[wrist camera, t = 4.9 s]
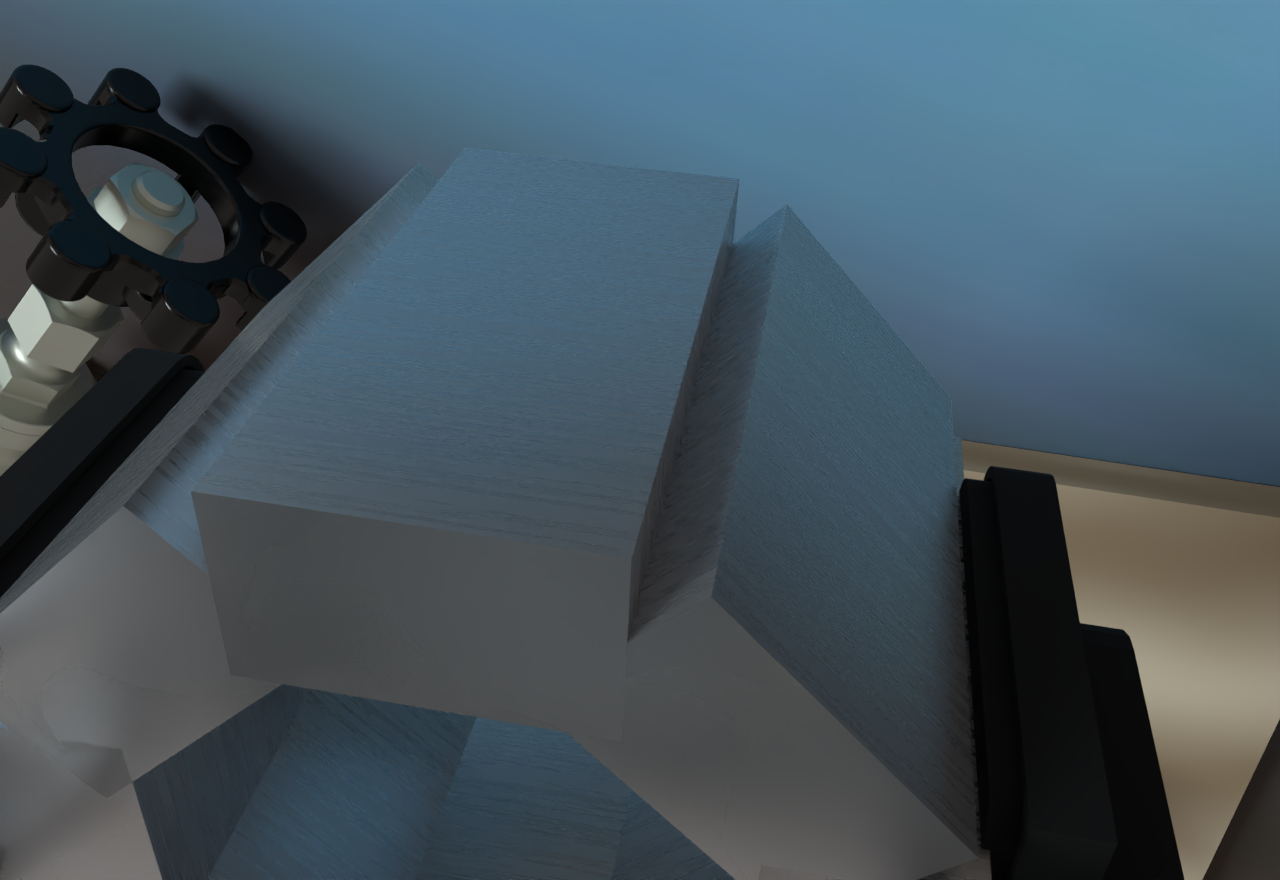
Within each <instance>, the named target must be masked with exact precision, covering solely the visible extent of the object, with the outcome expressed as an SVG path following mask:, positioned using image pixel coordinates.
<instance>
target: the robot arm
mask: <svg viewBox="0 0 1280 880" xmlns="http://www.w3.org/2000/svg"><path fill="white" fill-rule="evenodd" d="M204 373H205V372H204V369H203V366H202V364H201V363H200V361H199V360H198V359H197V358H195V357H194V356H192V355H185V354H178V353H171V352H164V351H156V350H149V349H142V348H140V349H133V350H132V351H130V352H129V353H127V354H126V355H125V356H124V357H123V358H122V359H121V360H120V361H119V362H118V363H117V364H116V365H115V366H114V367H113V368H112V369H111V370H110V371H108V372H107V373H106V374H105V375H104V376H103V377H102V378H101V379H100V380H99V381H98V382H97V383H96V384H95V385H94V386H93V387H92V388H91V389H90V390H89V391H88V392H87V393H86V394H85V395H84V396H83V397H82V398H81V399H80V400H79V401H78V402H76V403H75V404H74V405H73V406H72V407H71V408H70V409H69V410H68V411H67V412H66V413H65V414H64V415H63V416H62V417H61V418H60V419H59V420H58V421H57V422H56V423H55V424H54V425H53V426H52V427H51V428H50V429H49V430H48V431H47V432H45V433H44V434H43V435H42V436H41V437H40V438H39V439H38V440H37V441H36V442H35V443H34V444H33V445H32V446H31V447H30V448H29V449H28V450H27V451H26V452H25V453H24V454H23V455H22V456H21V457H20V458H19V459H18V460H17V461H16V462H14V463H13V464H12V465H11V466H10V467H9V468H8V469H7V470H6V471H5V472H4V473H3V474H2V475H1V476H0V598H1V597H2V596H3V595H4V594H5V592H6V591H7V590H8V589H9V588H10V587H11V586H12V585H13V584H14V583H15V581H16V580H17V579H18V578H19V577H20V576H21V575H22V574H23V573H24V571H25V570H26V569H27V568H28V567H29V566H30V565H31V564H32V563H33V562H34V560H35V559H36V558H37V557H38V556H39V555H40V554H41V553H42V552H43V550H44V549H45V548H46V547H47V546H48V545H49V544H50V543H51V542H52V541H53V539H54V538H55V537H56V536H57V535H58V534H59V533H60V532H61V531H62V530H63V528H64V527H65V526H66V525H67V524H68V523H69V522H70V521H71V520H72V518H73V517H74V516H75V515H76V514H77V513H78V512H79V511H80V510H81V509H82V507H83V506H84V505H85V504H86V503H87V502H88V501H89V500H90V499H91V497H92V496H93V495H94V494H95V493H96V492H97V491H98V490H99V489H100V488H101V486H102V485H103V484H104V483H105V482H106V481H107V480H108V479H109V478H110V476H111V475H112V474H113V473H114V472H115V471H116V470H117V469H118V468H119V467H120V465H121V464H122V463H123V462H124V461H125V460H126V459H127V458H128V457H129V456H130V454H131V453H132V452H133V451H134V450H135V449H136V448H137V447H138V446H139V444H140V443H141V442H142V441H143V440H144V439H145V438H146V437H147V436H148V435H149V433H150V432H151V431H152V430H153V429H154V428H155V427H156V426H157V425H158V423H159V422H160V421H161V420H162V419H163V418H164V417H165V416H166V415H167V414H168V412H169V411H170V410H171V409H172V408H173V407H174V406H175V405H176V404H177V402H178V401H179V400H180V399H181V398H182V397H183V396H184V395H185V394H186V393H187V391H188V390H189V389H190V388H191V387H192V386H193V385H194V384H195V383H196V382H197V380H198V379H199V378H200V377H201V376H202V375H203V374H204ZM959 493H960V510H961V526H962V542H963V558H964V575H965V591H966V607H967V624H968V640H969V656H970V672H971V689H972V705H973V721H974V738H975V754H976V770H977V786H978V803H979V819H980V835H981V849H985V850H990V863H991V878H992V880H1184V875H1183V870H1182V866H1181V861H1180V857H1179V852H1178V848H1177V843H1176V839H1175V834H1174V829H1173V825H1172V820H1171V816H1170V811H1169V807H1168V802H1167V798H1166V793H1165V788H1164V784H1163V779H1162V775H1161V770H1160V766H1159V761H1158V756H1157V752H1156V747H1155V743H1154V738H1153V734H1152V729H1151V725H1150V720H1149V715H1148V711H1147V706H1146V702H1145V697H1144V693H1143V688H1142V684H1141V679H1140V674H1139V670H1138V665H1137V661H1136V656H1135V652H1134V648H1133V645H1132V642H1131V639H1130V636H1129V635H1128V634H1127V633H1126V632H1125V631H1124V630H1122V629H1116V628H1109V627H1103V626H1096V625H1090V624H1083V623H1080V621H1079V615H1078V609H1077V603H1076V597H1075V592H1074V586H1073V580H1072V574H1071V568H1070V563H1069V557H1068V551H1067V545H1066V539H1065V534H1064V528H1063V522H1062V516H1061V510H1060V504H1059V499H1058V493H1057V487H1056V482H1055V479H1054V476H1053V475H1051V474H1047V473H1039V472H1032V471H1025V470H1018V469H1011V468H1003V467H996V466H990V467H989V468H988V470H987V472H986V474H985V477H984V480H975V479H968V478H965V479H964V480H963V482H962V484H961V487H960V491H959Z"/></svg>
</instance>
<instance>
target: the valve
mask: <svg viewBox="0 0 1280 880" xmlns="http://www.w3.org/2000/svg"><path fill="white" fill-rule="evenodd" d="M160 102H161V101H160V96H159V93H158V91H157V90H156V88H155V87H154V86H153V84H152V83H151V82H150V81H149V80H147V79H146V78H145V77H143V76H142V75H140V74H139V73H137V72H135V71H132V70H129V69H125V68H115V69H112V70H110V71H109V72H108V73H107V75H106V76H105V78H104V79H103V81H102V82H101V84H100V86H99V87H98V89H97V90H96V92H95V93H94V95H93V96H92V98H91V99H90V101H89V103H88V105H87V104H84V103H82V102H80V101H78V100H76V99H75V98H74V97H73V94H72V91H71V89H70V88H69V86H68V85H67V84H66V83H65V82H64V81H63V80H62V79H61V78H60V77H59V76H58V75H56V74H55V73H53V72H51V71H50V70H48V69H45V68H43V67H40V66H37V65H22V66H19V67H17V68H16V69H15V70H14V71H13V73H12V74H11V76H10V78H9V80H8V81H7V83H6V85H5V86H4V88H3V90H2V91H1V93H0V123H1V124H2V125H3V126H4V127H0V208H1V207H2V206H3V205H4V204H5V202H6V201H7V199H8V197H9V196H10V194H11V193H12V192H15V193H16V194H15V200H16V207H17V209H18V211H19V213H20V216H21V217H22V218H23V220H24V221H25V222H26V224H27V225H28V226H29V227H30V228H31V229H33V230H34V231H35V232H37V233H38V234H40V235H41V236H43V238H42V239H41V241H40V242H39V243H38V245H37V246H36V248H35V249H34V251H33V252H32V254H31V255H30V257H29V258H28V260H27V263H26V271H27V274H28V277H29V279H30V280H31V282H32V283H33V284H32V286H31V287H30V289H29V290H28V291H27V293H26V294H25V296H24V297H23V299H22V300H21V302H20V303H19V304H18V306H17V307H16V309H15V310H14V312H13V313H12V314H11V316H10V317H9V318H0V476H1V475H2V474H3V473H4V472H5V471H6V470H7V469H8V468H9V467H10V466H11V465H12V464H13V463H14V462H16V461H17V460H18V459H19V458H20V457H21V456H22V455H23V454H24V453H25V452H26V451H27V450H28V449H29V448H30V447H31V446H32V445H33V444H34V443H35V442H36V441H37V440H38V439H39V438H40V437H41V436H42V435H43V434H44V433H45V432H47V431H48V430H49V429H50V428H51V427H52V426H53V425H54V424H55V423H56V422H57V421H58V420H59V419H60V418H61V417H62V416H63V415H64V414H65V413H66V412H67V411H68V410H69V409H70V408H71V407H72V406H73V405H74V404H75V403H76V402H78V401H79V400H80V399H81V398H82V397H83V396H84V395H85V394H86V393H87V392H88V391H89V390H90V389H91V388H92V387H93V386H94V385H95V384H96V383H97V382H96V380H95V379H94V377H93V375H92V373H91V372H90V370H89V368H88V366H87V364H86V363H85V362H86V361H88V360H89V359H90V358H91V357H93V356H94V355H95V354H96V353H97V352H98V351H99V350H100V349H101V348H102V346H103V345H104V344H105V342H106V341H107V340H108V339H109V337H110V336H111V335H112V333H113V332H114V331H115V330H116V328H117V327H118V326H119V324H120V323H121V322H122V321H123V319H124V317H123V314H122V311H121V308H120V307H127V306H129V307H130V309H131V310H132V312H133V313H134V314H135V315H136V316H137V317H138V318H139V319H141V320H142V323H141V328H142V330H143V332H144V334H145V335H146V337H147V338H148V339H149V340H150V341H151V342H152V343H153V344H154V345H156V346H157V347H159V348H160V349H162V350H164V351H167V352H171V353H178V354H184V353H188V352H190V351H191V350H193V349H194V348H195V346H196V345H197V344H198V343H199V342H200V341H201V339H202V338H203V337H204V336H205V335H206V334H207V332H208V331H209V330H210V329H211V328H212V326H213V325H214V324H215V323H216V322H217V320H218V318H219V313H220V310H219V305H218V303H217V301H216V300H217V299H219V298H222V297H224V296H226V295H229V296H231V297H233V298H234V299H236V300H237V301H238V302H239V303H240V304H241V306H242V307H243V308H244V309H245V310H246V312H245V313H244V315H243V316H242V317H241V318H240V319H239V320H238V321H237V323H236V326H237V327H239V328H240V329H241V330H244V329H245V327H246V326H247V325H248V324H249V323H250V322H251V321H252V320H253V319H254V317H255V316H256V315H257V314H258V313H259V312H260V311H261V310H262V309H263V308H264V306H266V305H267V304H268V303H269V302H270V301H271V300H272V299H273V298H274V297H275V296H276V295H277V294H278V293H279V292H281V291H282V290H283V289H284V288H285V287H286V286H287V285H288V284H289V283H290V282H291V281H290V280H289V279H288V278H287V277H286V276H285V275H284V274H283V273H281V272H280V271H278V270H277V269H279V268H281V267H282V266H283V265H284V264H285V263H286V262H287V261H288V260H289V258H290V257H291V256H292V255H293V254H294V253H295V251H296V250H297V249H298V248H299V247H300V246H301V244H302V243H303V242H304V241H305V239H306V236H307V230H306V227H305V224H304V222H303V221H302V219H301V218H300V217H299V216H298V215H297V214H296V213H295V212H294V211H293V210H292V209H290V208H289V207H287V206H285V205H283V204H281V203H277V202H267V203H264V204H263V205H262V204H260V203H258V202H256V201H255V200H253V199H252V198H251V197H250V196H249V195H248V194H247V193H246V192H245V190H244V189H243V187H242V186H241V184H240V183H239V182H238V178H239V177H240V176H241V174H242V173H243V172H244V171H245V169H246V168H247V167H248V166H249V164H250V163H251V161H252V157H253V155H252V150H251V148H250V146H249V144H248V143H247V142H246V141H245V140H244V139H243V138H242V137H241V136H240V135H239V134H237V133H236V132H235V131H234V130H233V129H231V128H229V127H227V126H223V125H219V124H213V125H209V126H207V127H206V128H205V129H204V131H203V132H202V133H201V135H200V136H199V137H197V138H195V137H191V136H189V135H187V134H185V133H183V132H182V131H180V130H178V129H177V128H175V127H173V126H171V125H170V124H168V123H167V122H166V121H164V120H163V119H162V118H161V116H160V115H159V114H158V108H159V106H160ZM24 119H25V120H27V121H28V122H30V123H31V124H32V125H34V126H35V127H36V128H37V130H38V131H39V134H40V139H39V141H37V142H35V141H34V140H33V139H32V138H30V137H29V136H27V135H26V134H24V133H22V132H20V131H17V130H14V129H11V128H12V127H14V126H15V125H16V124H17V123H19V122H21V121H23V120H24ZM92 145H111V146H117V147H122V148H127V149H131V150H134V151H137V152H140V153H142V154H145V155H147V156H149V157H151V158H153V159H156V160H157V161H159V162H161V163H163V164H165V165H166V166H167V167H169V168H170V169H172V170H173V171H175V172H176V173H178V176H177V177H176V178H175V179H173V178H172V177H170V176H169V175H167V174H165V173H163V172H161V171H159V170H157V169H155V168H152V167H149V166H146V165H143V164H139V163H133V164H131V165H129V166H127V167H125V168H123V169H122V170H120V171H119V172H118V173H116V174H115V175H113V176H112V177H111V178H110V179H109V180H108V181H107V183H106V184H105V186H102V187H99V188H97V189H95V190H94V191H93V192H92V193H91V194H90V195H89V196H88V198H87V199H86V197H85V196H84V194H83V193H82V191H81V189H80V187H79V185H78V183H77V181H76V179H75V176H74V172H73V168H72V152H74V151H76V150H78V149H80V148H83V147H86V146H92ZM201 195H202V196H203V198H204V199H205V200H206V201H207V202H208V203H209V205H210V206H211V208H212V209H213V211H214V212H215V214H216V216H217V218H218V220H219V222H220V224H221V227H222V230H223V233H224V241H225V250H224V255H223V257H222V258H220V259H219V260H214V261H210V262H206V263H192V262H184V261H178V260H177V259H178V258H179V256H180V255H181V253H182V251H183V248H184V239H183V238H184V237H185V236H186V235H187V233H188V232H189V231H190V229H191V228H192V227H193V226H194V224H195V223H196V222H197V220H198V219H199V217H198V213H197V211H196V208H195V206H194V203H195V202H196V201H197V199H198V198H199V197H200V196H201ZM261 250H262V251H263V256H264V261H265V265H264V264H263V262H262V261H261V258H260V255H261Z"/></svg>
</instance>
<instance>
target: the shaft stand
mask: <svg viewBox="0 0 1280 880" xmlns="http://www.w3.org/2000/svg"><path fill="white" fill-rule="evenodd" d="M961 442H962V457H963V471H964V479H965V478H968V479H975V480H984V477H985V474H986V472H987V470H988V468H989V467H990V466H996V467H1003V468H1011V469H1018V470H1025V471H1032V472H1039V473H1047V474H1051V475H1053V476H1054V479H1055V482H1056V487H1057V493H1058V499H1059V504H1060V510H1061V516H1062V522H1063V528H1064V534H1065V539H1066V545H1067V551H1068V557H1069V563H1070V568H1071V574H1072V580H1073V586H1074V592H1075V597H1076V603H1077V609H1078V615H1079V621H1080V623H1083V624H1090V625H1096V626H1103V627H1109V628H1116V629H1122V630H1124V631H1125V632H1126V633H1127V634H1128V635H1129V636H1130V639H1131V642H1132V645H1133V648H1134V652H1135V656H1136V661H1137V665H1138V670H1139V674H1140V679H1141V684H1142V688H1143V693H1144V697H1145V702H1146V706H1147V711H1148V715H1149V720H1150V725H1151V729H1152V734H1153V738H1154V743H1155V747H1156V752H1157V756H1158V761H1159V766H1160V770H1161V775H1162V779H1163V784H1164V788H1165V793H1166V798H1167V802H1168V807H1169V811H1170V816H1171V820H1172V825H1173V829H1174V834H1175V839H1176V843H1177V848H1178V852H1179V857H1180V861H1181V866H1182V870H1183V875H1184V880H1202V879H1203V877H1204V875H1205V873H1206V871H1207V869H1208V867H1209V865H1210V863H1211V861H1212V859H1213V857H1214V854H1215V852H1216V850H1217V848H1218V846H1219V844H1220V842H1221V840H1222V838H1223V836H1224V834H1225V832H1226V830H1227V827H1228V825H1229V823H1230V821H1231V819H1232V817H1233V815H1234V813H1235V811H1236V809H1237V807H1238V805H1239V803H1240V800H1241V798H1242V796H1243V794H1244V792H1245V790H1246V788H1247V786H1248V784H1249V782H1250V780H1251V778H1252V776H1253V773H1254V771H1255V769H1256V767H1257V765H1258V763H1259V761H1260V759H1261V757H1262V755H1263V753H1264V751H1265V749H1266V746H1267V744H1268V742H1269V740H1270V738H1271V736H1272V734H1273V732H1274V730H1275V728H1276V726H1277V724H1278V722H1279V719H1280V487H1275V486H1269V485H1262V484H1255V483H1248V482H1242V481H1235V480H1228V479H1221V478H1214V477H1208V476H1201V475H1194V474H1187V473H1181V472H1174V471H1167V470H1160V469H1154V468H1147V467H1140V466H1133V465H1127V464H1120V463H1113V462H1106V461H1099V460H1093V459H1086V458H1079V457H1072V456H1066V455H1059V454H1052V453H1045V452H1039V451H1032V450H1025V449H1018V448H1012V447H1005V446H998V445H991V444H984V443H978V442H971V441H964V440H961Z"/></svg>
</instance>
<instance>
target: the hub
mask: <svg viewBox="0 0 1280 880" xmlns="http://www.w3.org/2000/svg"><path fill="white" fill-rule="evenodd" d="M738 188H739V179H736V178H727V177H718V176H710V175H701V174H692V173H683V172H674V171H665V170H656V169H647V168H639V167H630V166H621V165H612V164H603V163H594V162H585V161H576V160H568V159H559V158H550V157H541V156H532V155H523V154H514V153H505V152H497V151H488V150H479V149H470V148H465V149H464V151H463V152H462V153H461V154H460V156H459V157H458V158H457V159H456V161H455V162H454V163H453V164H452V166H451V167H450V168H449V169H448V171H447V172H446V173H445V174H444V176H443V177H442V178H441V179H440V181H438V180H437V179H436V178H435V177H434V176H433V175H432V174H431V173H430V172H429V171H428V170H427V169H426V168H425V167H424V166H423V165H422V164H421V163H420V162H419V163H418V164H417V165H416V166H415V167H414V168H413V169H411V170H410V171H409V172H408V173H407V174H406V175H405V176H404V177H403V178H402V179H401V180H400V181H399V182H398V183H396V184H395V185H394V186H393V187H392V188H391V189H390V190H389V191H388V192H387V193H386V194H385V195H384V196H382V197H381V198H380V199H379V200H378V201H377V202H376V203H375V204H374V205H373V206H372V207H371V208H370V209H369V210H367V211H366V212H365V213H364V214H363V215H362V216H361V217H360V218H359V219H358V220H357V221H356V222H355V223H354V224H352V225H351V226H350V227H349V228H348V229H347V230H346V231H345V232H344V233H343V234H342V235H341V236H340V237H339V238H337V239H336V240H335V241H334V242H333V243H332V244H331V245H330V246H329V247H328V248H327V249H326V250H325V251H323V252H322V253H321V254H320V255H319V256H318V257H317V258H316V259H315V260H314V261H313V262H312V263H311V264H310V265H308V266H307V267H306V268H305V269H304V270H303V271H302V272H301V273H300V274H299V275H298V276H297V277H296V278H295V279H293V280H292V281H291V282H290V283H289V284H288V285H287V286H286V287H285V288H284V289H283V290H282V291H281V292H279V293H278V294H277V295H276V296H275V297H274V298H273V299H272V300H271V301H270V302H269V303H268V304H267V305H266V306H264V308H263V309H262V310H261V311H260V312H259V313H258V314H257V315H256V316H255V317H254V319H253V320H252V321H251V322H250V323H249V324H248V325H247V326H246V327H245V329H244V330H243V331H242V332H241V333H240V334H239V335H238V336H237V337H236V338H235V340H234V341H233V342H232V343H231V344H230V345H229V346H228V347H227V348H226V349H225V351H224V352H223V353H222V354H221V355H220V356H219V357H218V358H217V359H216V361H215V362H214V363H213V364H212V365H211V366H210V367H209V368H208V369H207V370H206V372H205V373H204V374H203V375H202V376H201V377H200V378H199V379H198V380H197V382H196V383H195V384H194V385H193V386H192V387H191V388H190V389H189V390H188V391H187V393H186V394H185V395H184V396H183V397H182V398H181V399H180V400H179V401H178V402H177V404H176V405H175V406H174V407H173V408H172V409H171V410H170V411H169V412H168V414H167V415H166V416H165V417H164V418H163V419H162V420H161V421H160V422H159V423H158V425H157V426H156V427H155V428H154V429H153V430H152V431H151V432H150V433H149V435H148V436H147V437H146V438H145V439H144V440H143V441H142V442H141V443H140V444H139V446H138V447H137V448H136V449H135V450H134V451H133V452H132V453H131V454H130V456H129V457H128V458H127V459H126V460H125V461H124V462H123V463H122V464H121V465H120V467H119V468H118V469H117V470H116V471H115V472H114V473H113V474H112V475H111V476H110V478H109V479H108V480H107V481H106V482H105V483H104V484H103V485H102V486H101V488H100V489H99V490H98V491H97V492H96V493H95V494H94V495H93V496H92V497H91V499H90V500H89V501H88V502H87V503H86V504H85V505H84V506H83V507H82V509H81V510H80V511H79V512H78V513H77V514H76V515H75V516H74V517H73V518H72V520H71V521H70V522H69V523H68V524H67V525H66V526H65V527H64V528H63V530H62V531H61V532H60V533H59V534H58V535H57V536H56V537H55V538H54V539H53V541H52V542H51V543H50V544H49V545H48V546H47V547H46V548H45V549H44V550H43V552H42V553H41V554H40V555H39V556H38V557H37V558H36V559H35V560H34V562H33V563H32V564H31V565H30V566H29V567H28V568H27V569H26V570H25V571H24V573H23V574H22V575H21V576H20V577H19V578H18V579H17V580H16V581H15V583H14V584H13V585H12V586H11V587H10V588H9V589H8V590H7V591H6V592H5V594H4V595H3V596H2V597H1V598H0V880H992V878H991V863H990V850H985V849H981V835H980V819H979V803H978V786H977V770H976V754H975V738H974V721H973V705H972V689H971V672H970V656H969V640H968V624H967V607H966V591H965V575H964V558H963V542H962V526H961V510H960V493H959V491H960V487H961V484H962V482H963V480H964V471H963V457H962V442H961V438H959V437H953V424H952V408H951V397H950V396H949V394H948V393H947V392H946V391H945V390H944V388H943V387H942V386H941V385H940V384H939V383H938V381H937V380H936V379H935V378H934V377H933V375H932V374H931V373H930V372H929V371H928V370H927V368H926V367H925V366H924V365H923V364H922V362H921V361H920V360H919V359H918V358H917V357H916V355H915V354H914V353H913V352H912V351H911V350H910V348H909V347H908V346H907V345H906V344H905V342H904V341H903V340H902V339H901V338H900V337H899V335H898V334H897V333H896V332H895V331H894V329H893V328H892V327H891V326H890V325H889V324H888V322H887V321H886V320H885V319H884V318H883V316H882V315H881V314H880V313H879V312H878V311H877V309H876V308H875V307H874V306H873V305H872V303H871V302H870V301H869V300H868V299H867V298H866V296H865V295H864V294H863V293H862V292H861V290H860V289H859V288H858V287H857V286H856V285H855V283H854V282H853V281H852V280H851V279H850V277H849V276H848V275H847V274H846V273H845V272H844V270H843V269H842V268H841V267H840V266H839V265H838V263H837V262H836V261H835V260H834V259H833V257H832V256H831V255H830V254H829V253H828V252H827V250H826V249H825V248H824V247H823V246H822V244H821V243H820V242H819V241H818V240H817V239H816V237H815V236H814V235H813V234H812V233H811V231H810V230H809V229H808V228H807V227H806V226H805V224H804V223H803V222H802V221H801V220H800V218H799V217H798V216H797V215H796V214H795V213H794V211H793V210H792V209H791V208H790V207H789V205H788V204H786V205H785V206H784V207H782V208H781V209H780V210H778V211H777V212H776V213H774V214H773V215H771V216H770V217H769V218H767V219H766V220H765V221H763V222H762V223H761V224H759V225H758V226H756V227H755V228H754V229H752V230H751V231H750V232H748V233H747V234H745V235H744V236H743V237H741V238H740V239H739V240H737V241H736V242H735V243H733V239H734V229H735V218H736V208H737V198H738Z"/></svg>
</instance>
